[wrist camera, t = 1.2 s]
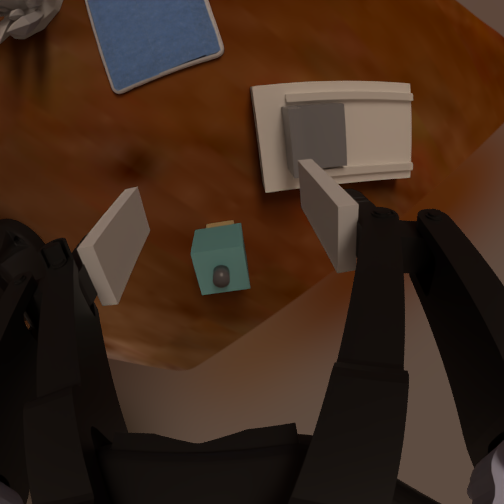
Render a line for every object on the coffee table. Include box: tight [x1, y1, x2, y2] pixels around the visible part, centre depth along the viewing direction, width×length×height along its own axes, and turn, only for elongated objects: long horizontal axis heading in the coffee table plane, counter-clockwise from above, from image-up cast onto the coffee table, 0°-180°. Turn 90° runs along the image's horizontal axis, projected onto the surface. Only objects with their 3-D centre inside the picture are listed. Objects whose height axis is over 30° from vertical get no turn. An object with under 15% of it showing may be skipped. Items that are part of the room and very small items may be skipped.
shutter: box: [281, 103, 347, 178], centre depth 27 cm, size 6×6×3 cm
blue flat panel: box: [85, 0, 224, 94], centre depth 22 cm, size 19×13×1 cm, turn 16°
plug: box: [191, 220, 250, 295], centre depth 33 cm, size 5×5×10 cm
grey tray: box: [250, 81, 413, 193], centre depth 30 cm, size 17×11×4 cm, turn 97°
